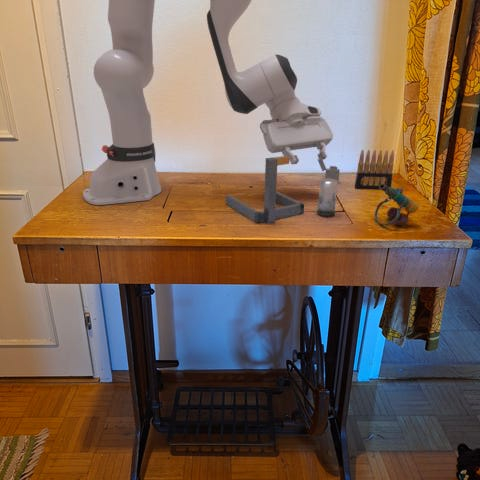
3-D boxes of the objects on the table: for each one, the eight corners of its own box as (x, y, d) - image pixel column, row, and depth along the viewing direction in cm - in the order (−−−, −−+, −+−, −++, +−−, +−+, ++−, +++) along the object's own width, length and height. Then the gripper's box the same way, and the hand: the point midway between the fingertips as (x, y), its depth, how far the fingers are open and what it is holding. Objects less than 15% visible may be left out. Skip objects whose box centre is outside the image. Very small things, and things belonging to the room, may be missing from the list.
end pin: (324, 218, 112) (327, 184, 108) (313, 212, 116) (316, 179, 112) (338, 215, 114) (342, 181, 110) (326, 209, 118) (329, 177, 114)
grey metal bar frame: (260, 225, 107) (262, 161, 101) (225, 203, 122) (225, 146, 115) (307, 215, 114) (311, 154, 107) (269, 195, 128) (271, 140, 122)
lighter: (337, 181, 141) (340, 157, 138) (338, 183, 140) (340, 158, 137) (315, 181, 142) (317, 156, 139) (315, 182, 141) (317, 157, 137)
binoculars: (399, 238, 106) (426, 204, 104) (372, 220, 103) (399, 185, 101) (382, 223, 115) (406, 192, 112) (356, 207, 112) (381, 174, 109)
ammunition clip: (389, 188, 136) (395, 149, 131) (390, 190, 134) (396, 150, 129) (354, 187, 136) (358, 148, 131) (355, 189, 135) (360, 150, 130)
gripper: (262, 113, 113) (283, 159, 109) (324, 107, 122) (345, 149, 118) (253, 128, 118) (272, 172, 115) (312, 121, 128) (332, 162, 124)
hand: (309, 160), depth 117 cm, fingers open, 8 cm apart
